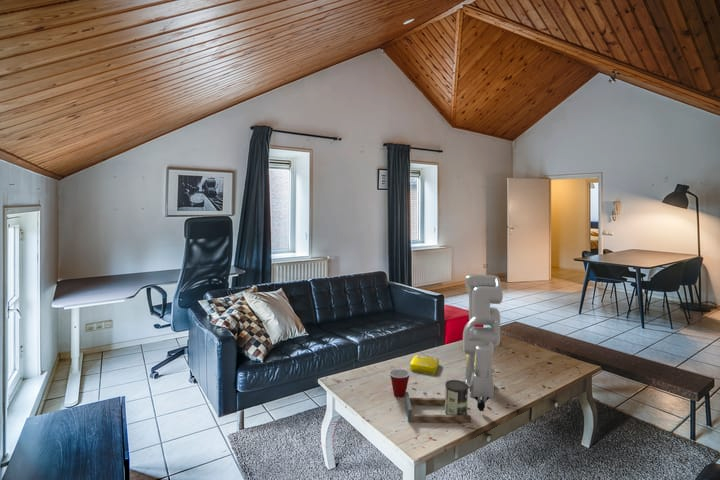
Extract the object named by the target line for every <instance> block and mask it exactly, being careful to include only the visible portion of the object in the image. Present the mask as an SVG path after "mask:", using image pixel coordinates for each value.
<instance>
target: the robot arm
mask: <svg viewBox="0 0 720 480" xmlns="http://www.w3.org/2000/svg"><path fill="white" fill-rule="evenodd" d="M464 284H465V290H466V292H467V295H468V300H469V301H468V320H469V321H468V322H467V323H466V324H465V325H464V328H463V332H462V349H463V352H464V353H465V354H466V359H465V361H466V362H465V363H466V364H465V377H463V379H462V382H465V383H466V384H467V385H468V389H469V392H470V393H469V397H470V398H471V399H474V400H476V401H477V403H476V404H477V406H476V407H477V409H478V411H479V412H484V411H485V409H486V407H485V406H486V403H487V401H488V400H490V399H494V393H495V392H494V391H495V388H494V377H493V375H492V374H495V369H492V365H493V364H492V362H493V361H492V360H493V354H494V352H495V347H498V346H499V345H500V342H501V314H500V311H499V309H498V308H497V307H491V305H492V304H493V305H494V304H495V305H500V304H501V303H502V302H503V297H504V296H503V295H504V294H503V289H502V282H501V279H500V277H499V276H498V275H492V274H491V275H490V274H468V275H466V276H465V278H464ZM476 325H481V326H476ZM482 325H483V327H482ZM484 326H490V327H484Z"/></svg>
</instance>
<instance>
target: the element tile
mask: <svg viewBox="0 0 720 480" xmlns="http://www.w3.org/2000/svg"><path fill="white" fill-rule="evenodd" d="M439 366H440V359H439V357H434V356H426V355H422V354H421V355H420V354H415V355H414V356H413V358H412V360H411V361H410V364H409V367H410V369H409V370H410V371H412V372H417V373H424V374H430V375H435V374H436V373H437V370H438V369H439Z"/></svg>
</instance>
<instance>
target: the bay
mask: <svg viewBox="0 0 720 480" xmlns="http://www.w3.org/2000/svg"><path fill="white" fill-rule="evenodd" d="M412 406H429V407H430V406H431V407H432V406H433V407H437V406H439V407H441V406H442V407H445V398H442V397H441V398H440V397H438V398H435V397H410V393H409V391H406V392H405V396H404V407H405V412H406V417H407V422H408V423H416V424H417V423H420V424H421V423H422V424H423V423H424V424H465V423H471V424H472V415H470V414H469V415H468V414H467V415H446V414H413V409H412Z"/></svg>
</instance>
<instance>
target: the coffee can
mask: <svg viewBox="0 0 720 480" xmlns="http://www.w3.org/2000/svg"><path fill="white" fill-rule="evenodd" d="M444 385H445V392H444V393H445V395H444V396H445V406H444V415H468V395H469V394H468V392H469V387H468V385H467V384H466V383H465V382H463V380H458V379H450V380H447V381H446V382H444Z"/></svg>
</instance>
